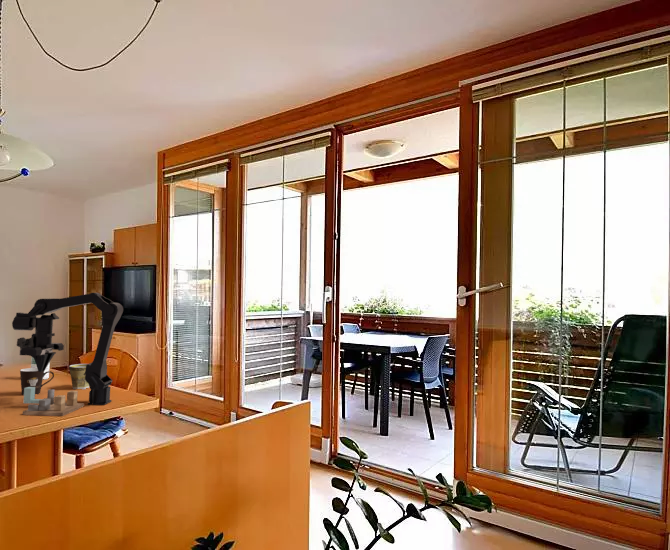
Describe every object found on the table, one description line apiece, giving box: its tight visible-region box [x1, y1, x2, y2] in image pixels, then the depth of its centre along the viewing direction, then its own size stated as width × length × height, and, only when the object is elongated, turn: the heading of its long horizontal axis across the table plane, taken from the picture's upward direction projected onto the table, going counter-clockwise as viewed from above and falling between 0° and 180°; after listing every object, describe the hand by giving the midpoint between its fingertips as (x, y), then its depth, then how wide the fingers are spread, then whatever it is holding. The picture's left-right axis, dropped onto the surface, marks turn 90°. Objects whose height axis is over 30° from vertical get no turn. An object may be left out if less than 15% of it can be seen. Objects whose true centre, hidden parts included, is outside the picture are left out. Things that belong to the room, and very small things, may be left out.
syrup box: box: [30, 356, 51, 380], centre depth 227 cm, size 6×6×14 cm
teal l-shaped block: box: [22, 387, 43, 405], centre depth 175 cm, size 7×2×6 cm, turn 90°
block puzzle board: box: [22, 388, 85, 417], centre depth 171 cm, size 14×14×6 cm
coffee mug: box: [19, 367, 55, 396], centre depth 196 cm, size 12×9×10 cm
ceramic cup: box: [68, 363, 90, 390], centre depth 211 cm, size 13×10×10 cm
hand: (41, 371), depth 182 cm, fingers closed
